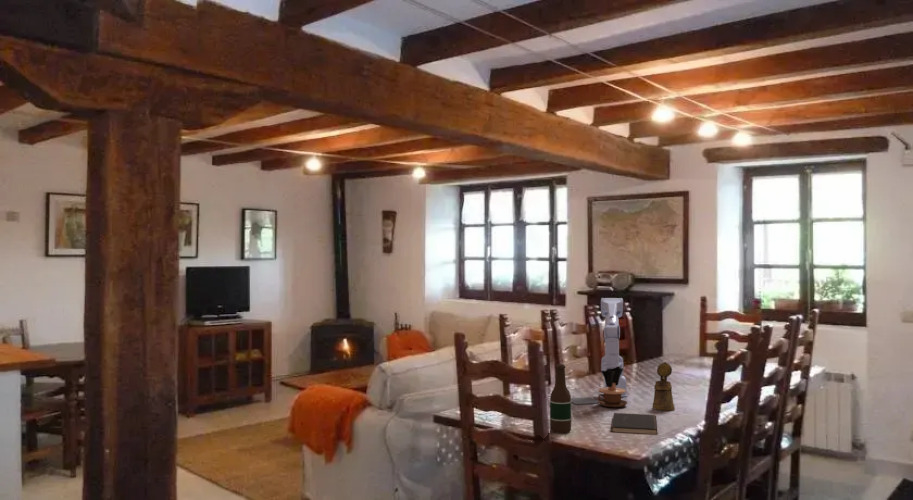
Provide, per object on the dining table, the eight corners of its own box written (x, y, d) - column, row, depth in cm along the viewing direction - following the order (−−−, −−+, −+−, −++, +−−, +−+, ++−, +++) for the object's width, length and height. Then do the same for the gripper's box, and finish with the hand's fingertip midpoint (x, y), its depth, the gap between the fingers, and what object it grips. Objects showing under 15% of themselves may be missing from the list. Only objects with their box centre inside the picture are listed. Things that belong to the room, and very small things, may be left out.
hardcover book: (611, 433, 257) (611, 426, 257) (614, 418, 279) (613, 412, 279) (657, 435, 253) (657, 429, 253) (656, 420, 275) (656, 414, 275)
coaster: (589, 397, 317) (589, 396, 317) (601, 403, 305) (601, 402, 305) (564, 399, 314) (564, 398, 314) (575, 405, 302) (575, 404, 302)
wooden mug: (676, 405, 301) (676, 362, 301) (673, 411, 289) (673, 367, 289) (654, 403, 304) (654, 361, 304) (651, 410, 292) (650, 366, 292)
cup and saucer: (610, 410, 292) (610, 395, 292) (592, 405, 303) (592, 390, 303) (633, 407, 298) (633, 392, 298) (614, 402, 308) (614, 388, 308)
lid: (607, 388, 308) (607, 379, 308) (630, 391, 300) (630, 383, 300) (593, 391, 300) (593, 383, 300) (616, 395, 292) (616, 386, 292)
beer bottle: (547, 428, 262) (547, 363, 262) (568, 428, 262) (568, 363, 263) (552, 434, 254) (552, 366, 254) (573, 433, 255) (573, 366, 255)
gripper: (612, 351, 308) (612, 382, 308) (594, 354, 298) (594, 387, 298) (627, 352, 304) (627, 384, 303) (609, 356, 293) (609, 389, 293)
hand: (612, 385), depth 300 cm, fingers open, 4 cm apart
